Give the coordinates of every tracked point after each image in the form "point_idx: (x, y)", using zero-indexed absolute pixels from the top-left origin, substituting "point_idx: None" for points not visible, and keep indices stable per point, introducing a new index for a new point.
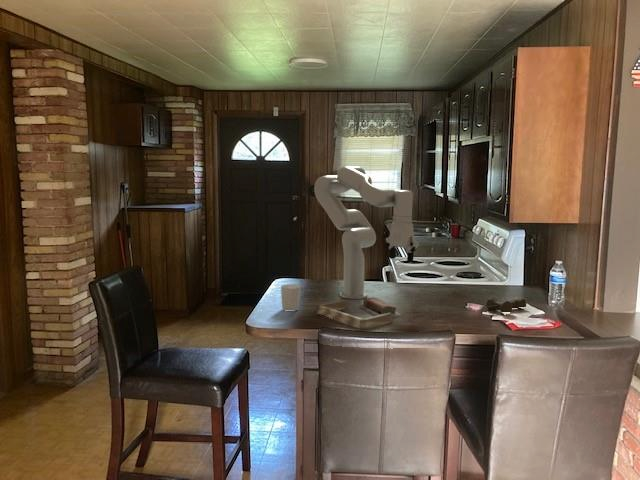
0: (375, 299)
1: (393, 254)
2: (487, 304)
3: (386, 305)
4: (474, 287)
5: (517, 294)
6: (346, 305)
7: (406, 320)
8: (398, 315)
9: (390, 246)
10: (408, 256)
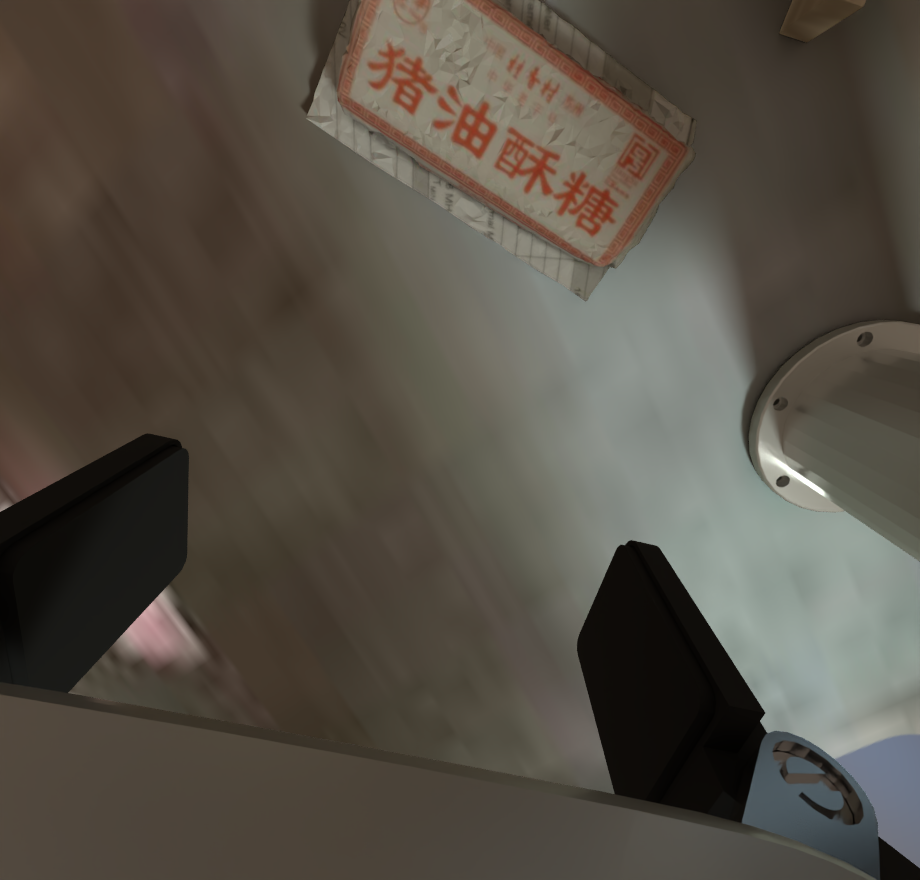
0: (582, 176)
1: (618, 656)
2: None
3: (397, 24)
4: None
5: None
6: (799, 13)
7: (211, 25)
8: (316, 95)
9: (822, 844)
10: (51, 485)
